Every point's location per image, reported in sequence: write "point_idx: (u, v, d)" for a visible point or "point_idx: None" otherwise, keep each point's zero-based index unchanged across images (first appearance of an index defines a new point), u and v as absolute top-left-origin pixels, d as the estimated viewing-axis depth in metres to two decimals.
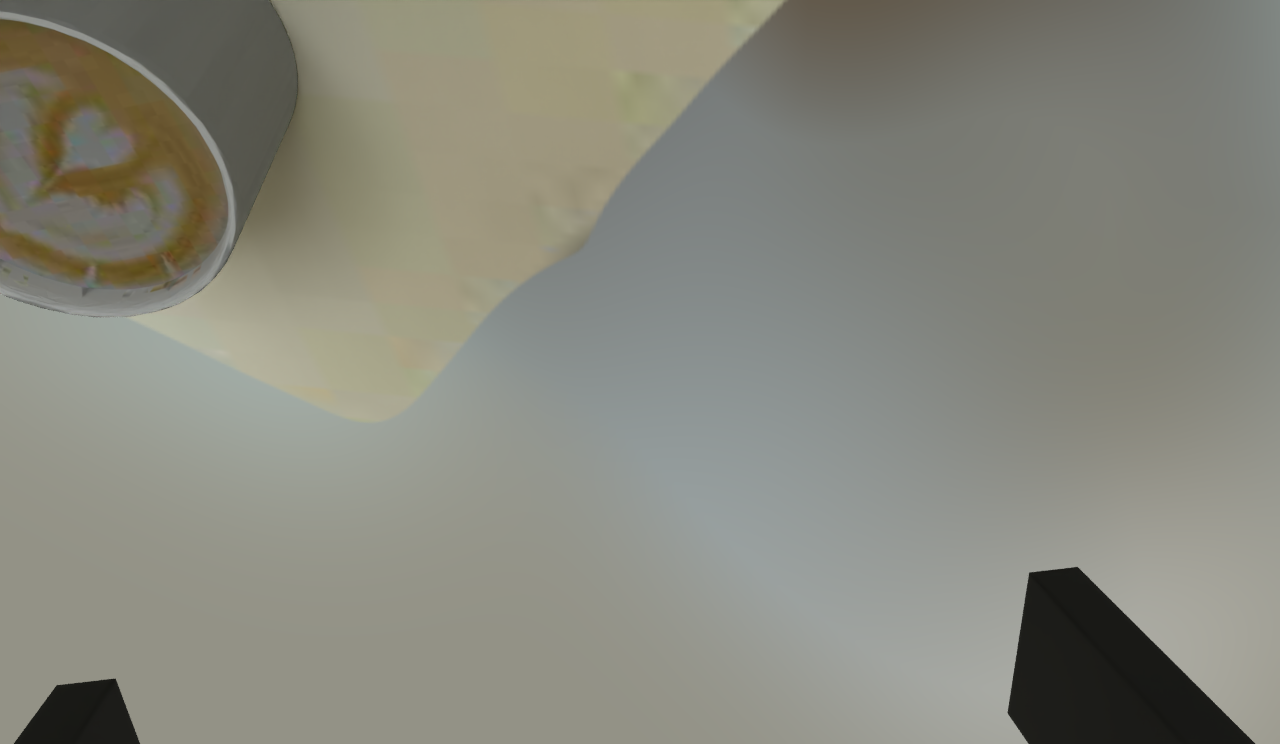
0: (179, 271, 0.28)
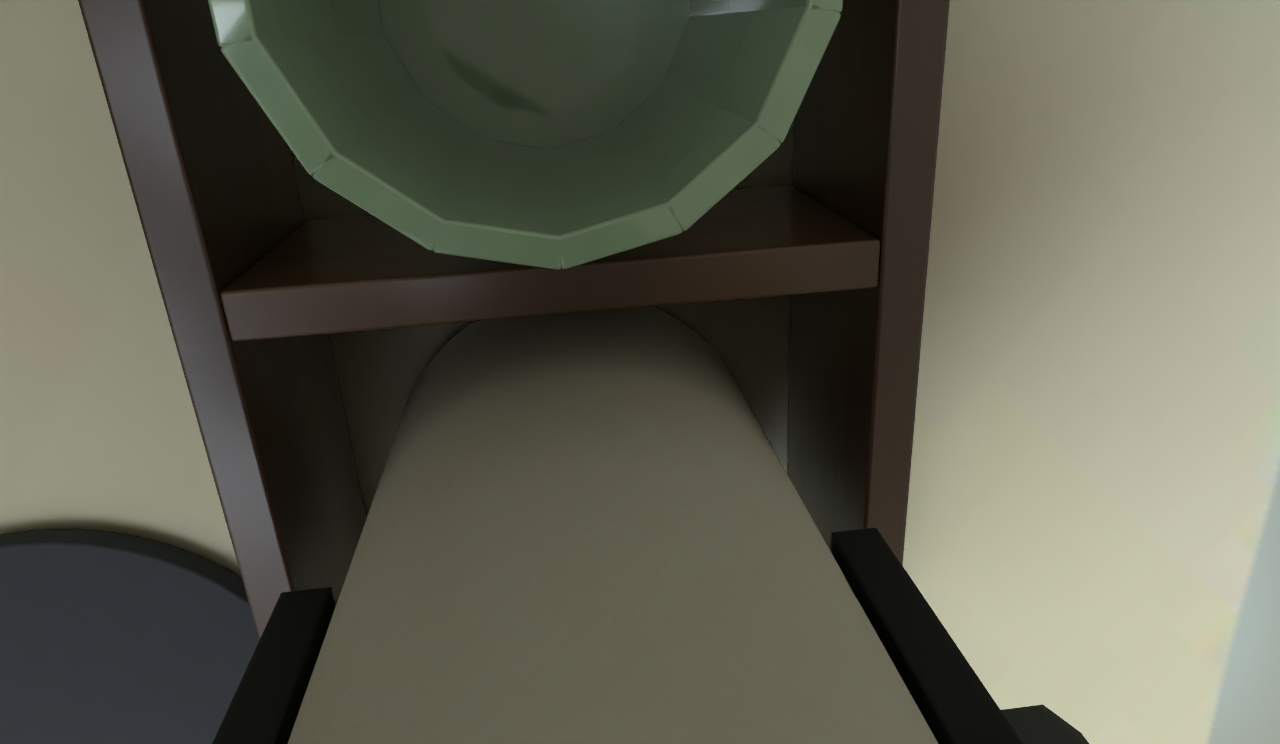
0: None
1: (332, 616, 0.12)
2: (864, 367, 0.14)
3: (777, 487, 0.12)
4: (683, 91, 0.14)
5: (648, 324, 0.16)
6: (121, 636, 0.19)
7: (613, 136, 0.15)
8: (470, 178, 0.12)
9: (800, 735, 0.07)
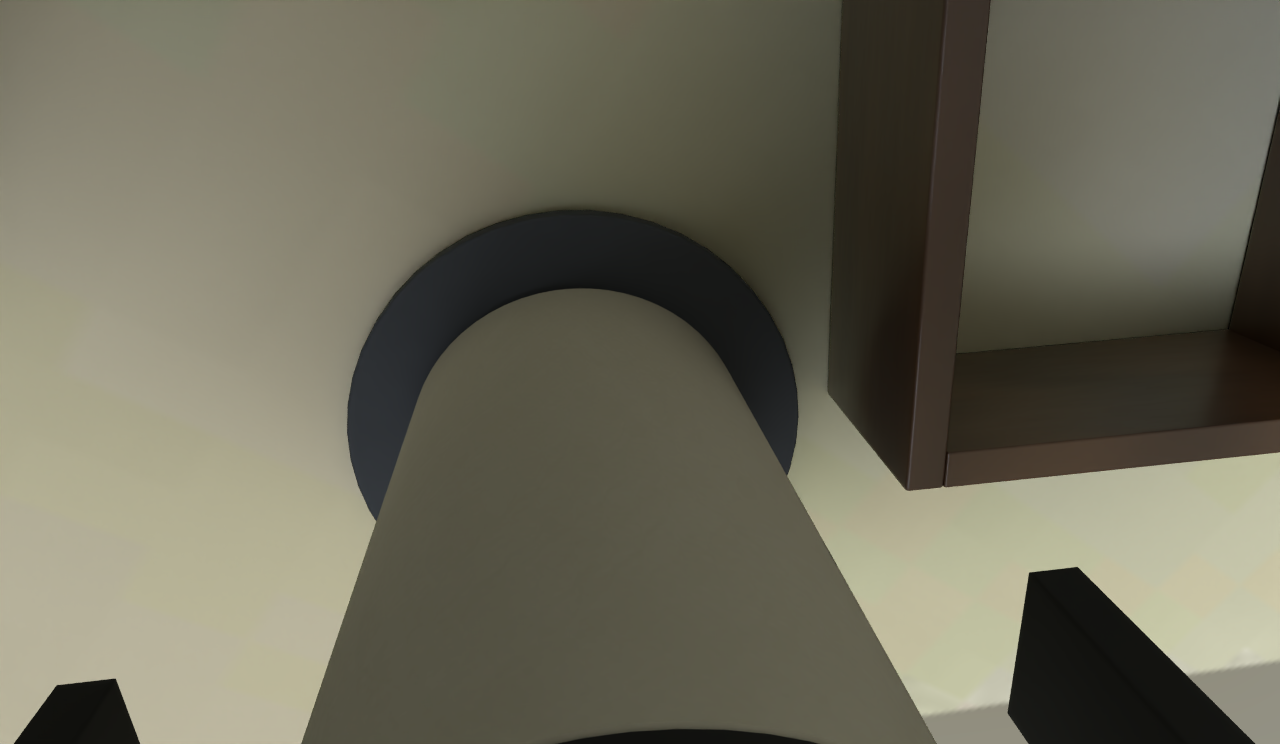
0: None
1: (356, 582, 0.13)
2: None
3: (764, 465, 0.13)
4: None
5: (647, 318, 0.17)
6: None
7: None
8: None
9: (774, 662, 0.08)
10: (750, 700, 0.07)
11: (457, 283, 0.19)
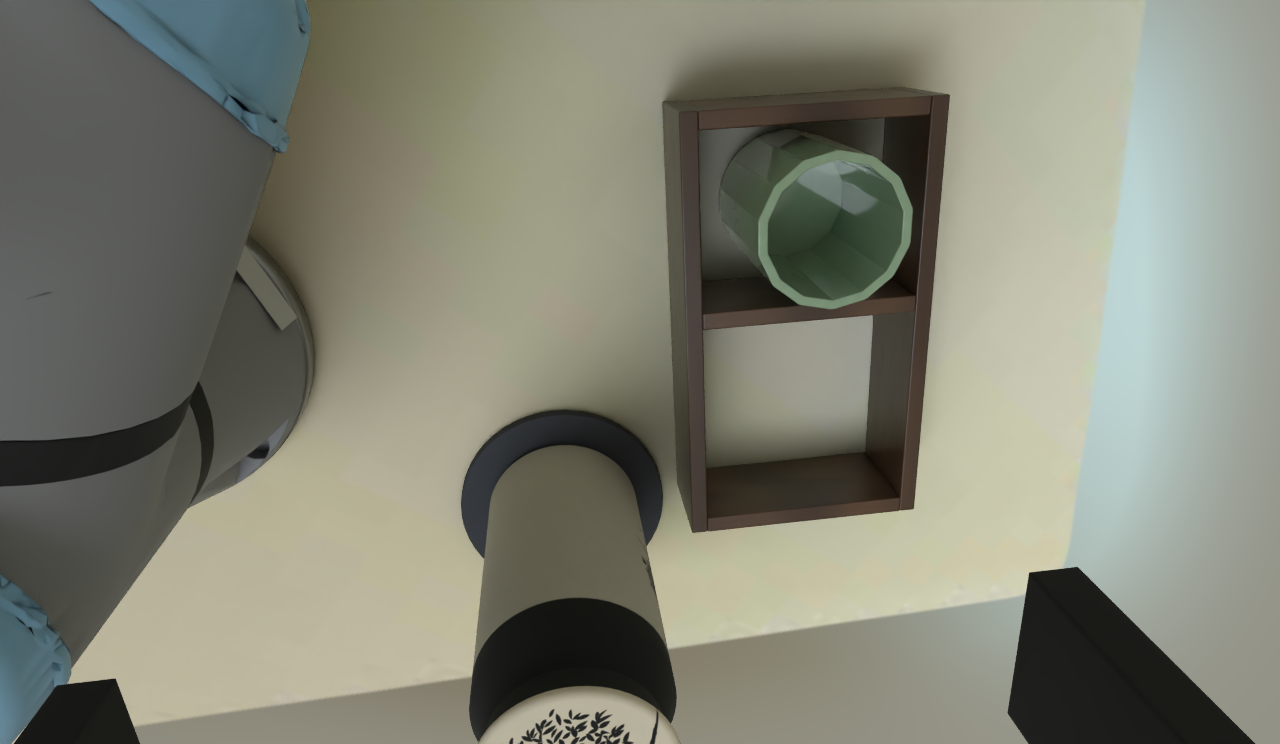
0: None
1: (486, 568, 0.38)
2: (908, 339, 0.40)
3: (623, 528, 0.38)
4: (846, 242, 0.39)
5: (589, 461, 0.43)
6: None
7: (813, 253, 0.41)
8: (787, 278, 0.37)
9: (604, 586, 0.33)
10: (595, 593, 0.32)
11: (510, 442, 0.44)
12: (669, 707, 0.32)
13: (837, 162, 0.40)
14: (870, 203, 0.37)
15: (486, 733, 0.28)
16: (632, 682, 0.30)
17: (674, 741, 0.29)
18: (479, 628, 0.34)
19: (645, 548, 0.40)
